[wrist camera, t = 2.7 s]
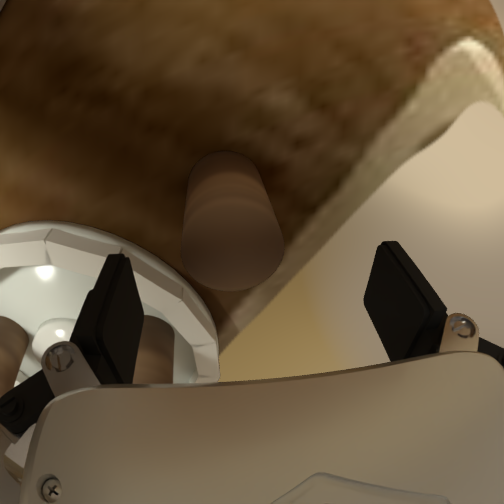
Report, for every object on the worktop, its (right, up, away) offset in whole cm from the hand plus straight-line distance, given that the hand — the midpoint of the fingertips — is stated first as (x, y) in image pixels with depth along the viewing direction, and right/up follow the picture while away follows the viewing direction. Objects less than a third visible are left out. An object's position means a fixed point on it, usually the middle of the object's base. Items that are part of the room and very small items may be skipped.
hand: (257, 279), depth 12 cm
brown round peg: (-7, -5, +9) cm, 13 cm away
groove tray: (-14, -6, +10) cm, 18 cm away
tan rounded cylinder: (-2, +4, +5) cm, 7 cm away
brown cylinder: (-20, -5, +8) cm, 22 cm away
